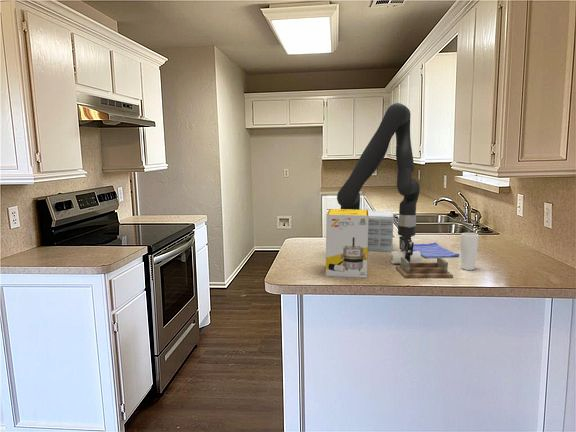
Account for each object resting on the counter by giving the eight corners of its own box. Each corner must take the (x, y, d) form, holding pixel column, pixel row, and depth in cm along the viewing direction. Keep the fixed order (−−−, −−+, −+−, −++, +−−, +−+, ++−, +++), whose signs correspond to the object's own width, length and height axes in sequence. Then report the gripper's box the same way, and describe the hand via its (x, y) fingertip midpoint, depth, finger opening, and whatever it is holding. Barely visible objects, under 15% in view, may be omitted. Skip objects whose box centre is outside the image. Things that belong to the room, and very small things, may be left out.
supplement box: (366, 243, 227) (367, 210, 224) (391, 244, 224) (392, 211, 221) (365, 251, 210) (366, 215, 207) (392, 252, 207) (394, 216, 204)
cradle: (404, 278, 164) (405, 264, 164) (395, 268, 178) (396, 255, 177) (452, 278, 165) (453, 264, 164) (439, 268, 178) (440, 255, 178)
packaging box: (325, 276, 168) (326, 214, 164) (328, 265, 184) (329, 209, 180) (366, 278, 165) (368, 215, 161) (366, 266, 181) (367, 209, 177)
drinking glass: (475, 271, 173) (477, 236, 171) (457, 269, 176) (460, 234, 174) (477, 268, 179) (480, 233, 176) (460, 265, 182) (462, 232, 180)
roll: (392, 264, 183) (393, 252, 183) (389, 262, 189) (390, 250, 188) (421, 264, 184) (421, 252, 183) (417, 262, 189) (417, 250, 188)
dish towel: (436, 247, 220) (436, 242, 220) (460, 258, 197) (461, 252, 196) (405, 248, 218) (405, 243, 217) (426, 260, 194) (426, 254, 194)
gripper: (394, 221, 191) (392, 257, 193) (403, 227, 176) (401, 266, 179) (410, 221, 191) (409, 257, 193) (420, 227, 176) (418, 266, 179)
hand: (405, 261), depth 186 cm, fingers closed on roll, 5 cm apart
